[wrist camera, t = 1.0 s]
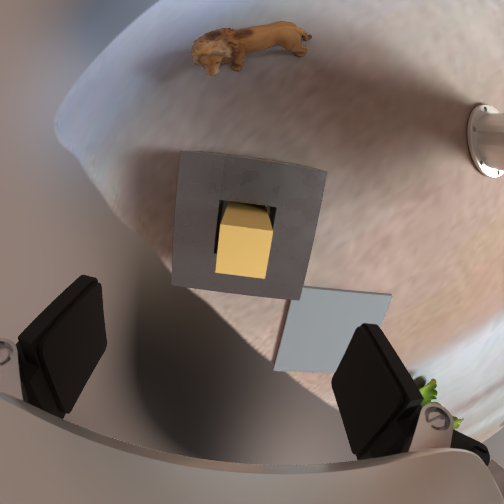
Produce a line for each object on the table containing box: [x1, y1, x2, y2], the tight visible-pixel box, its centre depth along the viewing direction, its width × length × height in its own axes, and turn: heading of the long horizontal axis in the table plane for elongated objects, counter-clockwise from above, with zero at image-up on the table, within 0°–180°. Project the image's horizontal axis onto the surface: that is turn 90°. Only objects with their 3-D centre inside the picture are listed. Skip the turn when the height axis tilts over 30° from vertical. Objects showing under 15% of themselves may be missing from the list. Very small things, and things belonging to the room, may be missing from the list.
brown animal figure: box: [191, 21, 312, 76], centre depth 23 cm, size 15×5×9 cm, turn 115°
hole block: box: [172, 151, 327, 301], centre depth 31 cm, size 14×14×8 cm
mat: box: [273, 286, 392, 373], centre depth 41 cm, size 16×16×1 cm
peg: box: [215, 201, 273, 279], centre depth 27 cm, size 4×4×12 cm
